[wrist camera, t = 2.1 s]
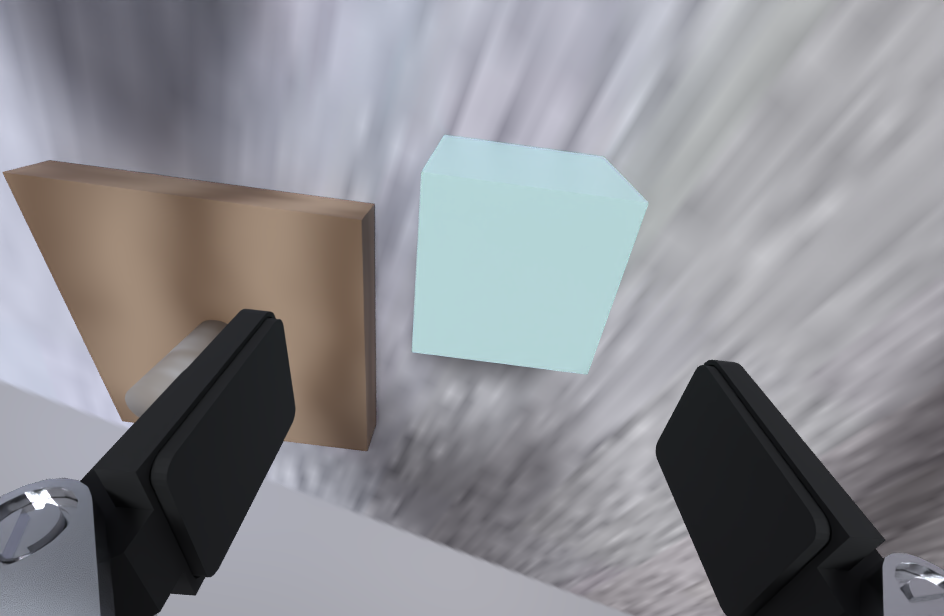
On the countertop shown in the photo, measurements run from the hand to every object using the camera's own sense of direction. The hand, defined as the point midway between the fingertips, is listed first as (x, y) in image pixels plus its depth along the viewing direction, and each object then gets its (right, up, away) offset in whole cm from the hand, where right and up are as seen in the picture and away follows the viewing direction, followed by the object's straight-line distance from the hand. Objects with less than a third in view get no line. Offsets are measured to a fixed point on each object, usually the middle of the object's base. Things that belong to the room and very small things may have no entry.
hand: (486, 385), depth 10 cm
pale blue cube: (+1, +6, +9) cm, 10 cm away
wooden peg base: (-12, +1, +12) cm, 17 cm away
